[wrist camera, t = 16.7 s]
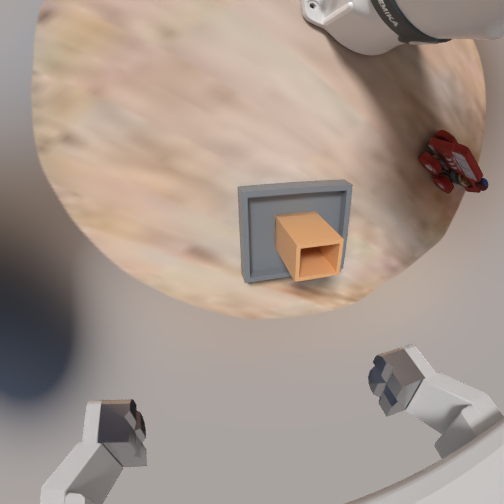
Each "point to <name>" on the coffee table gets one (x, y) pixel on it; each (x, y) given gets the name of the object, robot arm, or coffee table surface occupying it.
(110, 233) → the coffee table surface
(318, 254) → the box
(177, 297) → the coffee table surface
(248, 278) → the tray
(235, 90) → the coffee table surface
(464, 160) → the toy fire truck
